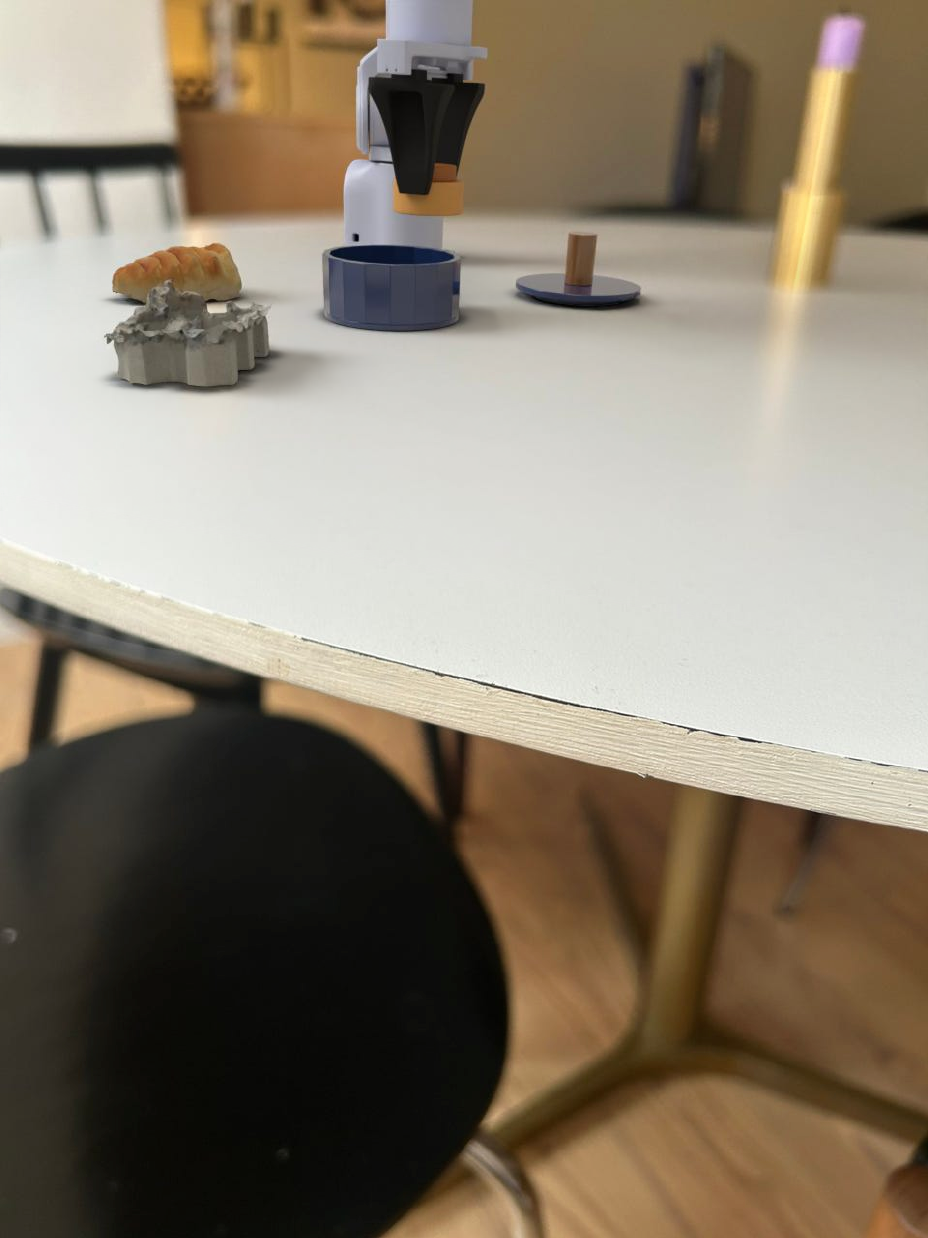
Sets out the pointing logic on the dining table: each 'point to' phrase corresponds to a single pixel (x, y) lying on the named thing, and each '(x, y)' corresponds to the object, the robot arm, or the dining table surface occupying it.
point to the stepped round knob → (433, 195)
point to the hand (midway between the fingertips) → (427, 191)
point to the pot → (391, 286)
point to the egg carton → (188, 340)
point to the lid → (579, 279)
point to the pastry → (182, 273)
